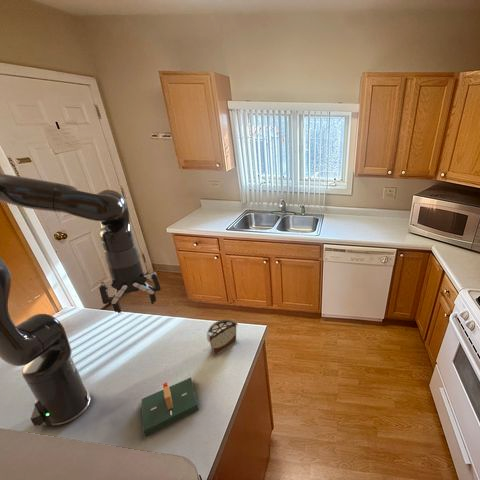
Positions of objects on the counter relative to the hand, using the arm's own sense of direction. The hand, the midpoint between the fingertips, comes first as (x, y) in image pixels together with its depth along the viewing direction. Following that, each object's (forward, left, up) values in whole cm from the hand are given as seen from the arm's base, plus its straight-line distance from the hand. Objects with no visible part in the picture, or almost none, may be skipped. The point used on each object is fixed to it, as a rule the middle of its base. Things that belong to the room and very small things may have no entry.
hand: (136, 306), depth 79 cm
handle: (+3, -17, -26) cm, 31 cm away
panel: (+3, -17, -28) cm, 33 cm away
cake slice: (+23, 0, -28) cm, 36 cm away
